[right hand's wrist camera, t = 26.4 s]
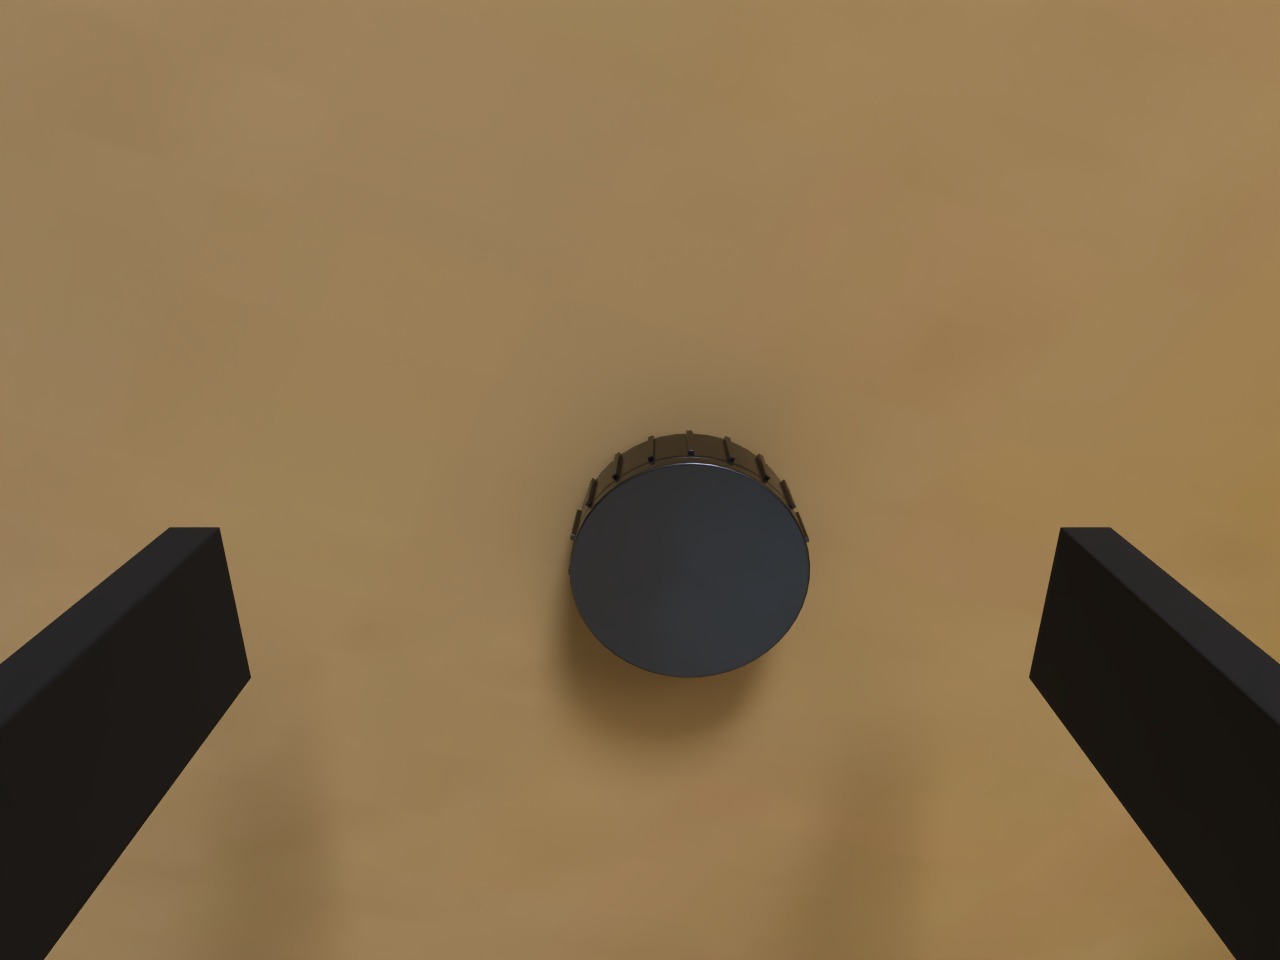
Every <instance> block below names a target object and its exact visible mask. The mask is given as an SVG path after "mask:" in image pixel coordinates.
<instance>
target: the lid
mask: <svg viewBox="0 0 1280 960" xmlns="http://www.w3.org/2000/svg"><path fill="white" fill-rule="evenodd" d="M795 507H796V506H795V503H794V501H793V498H792V495H791V493H790V490H789V488H788V485H787V483H786V482H785V480H783V481H780V479H779V478H778V477H777V476H776V474H775V473H774V472H773V471H772V470H771V468H770V467H769V466H768V465H767V464H765V461H764V458H763V456H762V455H761V454H758V455H757V456H756V455H754V454H753V453H751V452H750V451H749V450H747V449H745V448H743V447H741V446H739V445H737V444H735V443H733V442H731V440H730V438H729V437H726V436H725V438H724V439H721V438H717V437H713V436H708V435H699V434H692V431H687V434H675V435H669V436H663V437H659V438H656V439H654V436H650V437H648V441H646V442H644V443H642V444H639V445H637V446H635V447H633V448H631V449H630V450H628V451H626V452H625V453H623V454H620V453H619V452H618V453H617V454H616V455H615V458H614V461H613V462H611V463H610V464H609V465H608V466H607V467H606V468H605V469H604V470H603V471H602V472H601V474H600V475H599V476H598V478H597V479H596V480H595V479H594V478H592V480H591V481H590V484H589V489H588V493H587V496H586V499H585V501H584V504H583V507H582V510H577V514H576V518H575V522H574V526H573V530H572V534H571V538H570V539H572V540H574V544H573V548H572V553H571V559H570V566H569V570H568V571H569V575H570V581H571V588H572V592H573V597H574V600H575V603H576V605H577V608H578V611H579V613H580V615H581V616H582V618H583V620H584V622H585V624H586V625H587V626H588V628H589V629H590V630H591V632H592V633H593V634H594V636H595V637H596V638H597V639H598V640H599V641H600V642H601V643H602V644H603V645H604V646H605V647H606V648H607V649H609V650H610V651H611V652H613V653H614V654H615V655H616V656H618V657H620V658H621V659H623V660H625V661H626V662H628V663H630V664H632V665H634V666H637V667H639V668H641V669H644V670H647V671H650V672H653V673H657V674H661V675H666V676H673V677H704V676H712V675H717V674H721V673H725V672H729V671H731V670H734V669H737V668H739V667H742V666H744V665H746V664H748V663H750V662H752V661H754V660H756V659H757V658H759V657H760V656H762V655H763V654H764V653H766V652H767V651H769V650H770V649H771V648H772V647H773V646H774V645H775V644H777V643H778V642H779V641H780V640H781V638H782V637H783V636H784V635H785V634H786V633H787V632H788V630H789V629H790V627H791V626H792V625H793V623H794V622H795V620H796V618H797V616H798V614H799V612H800V610H801V608H802V606H803V603H804V600H805V597H806V594H807V590H808V585H809V579H810V560H809V552H808V547H807V544H806V542H809V539H808V535H807V533H806V530H805V528H804V525H803V523H802V520H801V518H800V515H799V513H798V512H795V511H794V508H795Z"/></svg>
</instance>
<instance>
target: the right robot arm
mask: <svg viewBox="0 0 1280 960" xmlns="http://www.w3.org/2000/svg"><path fill="white" fill-rule="evenodd" d="M250 678H251V676H250V671H249V666H248V661H247V657H246V652H245V647H244V642H243V637H242V633H241V628H240V623H239V618H238V614H237V609H236V604H235V599H234V595H233V590H232V585H231V580H230V576H229V571H228V566H227V561H226V556H225V552H224V547H223V542H222V537H221V533H220V528H219V527H170V528H168V529H167V530H166V531H165V532H163V533H162V534H161V535H160V536H158V537H157V538H156V539H155V540H154V541H152V542H151V543H150V544H149V545H147V546H146V547H145V548H144V549H142V550H141V551H140V552H139V553H137V554H136V555H135V556H134V557H132V558H131V559H130V560H129V561H128V562H126V563H125V564H124V565H123V566H121V567H120V568H119V569H118V570H116V571H115V572H114V573H113V574H111V575H110V576H109V577H108V578H106V579H105V580H104V581H103V582H102V583H100V584H99V585H98V586H97V587H95V588H94V589H93V590H92V591H90V592H89V593H88V594H87V595H85V596H84V597H83V598H82V599H80V600H79V601H78V602H77V603H75V604H74V605H73V606H72V607H71V608H69V609H68V610H67V611H66V612H64V613H63V614H62V615H61V616H59V617H58V618H57V619H56V620H54V621H53V622H52V623H51V624H49V625H48V626H47V627H46V628H45V629H43V630H42V631H41V632H40V633H38V634H37V635H36V636H35V637H33V638H32V639H31V640H30V641H28V642H27V643H26V644H25V645H23V646H22V647H21V648H20V649H18V650H17V651H16V652H15V653H14V654H12V655H11V656H10V657H9V658H7V659H6V660H5V661H4V662H2V663H1V664H0V960H44V959H45V957H46V956H47V955H48V953H49V952H50V950H51V949H52V948H53V946H54V945H55V944H56V942H57V941H58V940H59V938H60V937H61V936H62V934H63V933H64V931H65V930H66V929H67V927H68V926H69V925H70V923H71V922H72V921H73V919H74V918H75V916H76V915H77V914H78V912H79V911H80V910H81V908H82V907H83V906H84V904H85V903H86V901H87V900H88V899H89V897H90V896H91V895H92V893H93V892H94V891H95V889H96V888H97V886H98V885H99V884H100V882H101V881H102V880H103V878H104V877H105V876H106V874H107V873H108V872H109V870H110V869H111V867H112V866H113V865H114V863H115V862H116V861H117V859H118V858H119V857H120V855H121V854H122V852H123V851H124V850H125V848H126V847H127V846H128V844H129V843H130V842H131V840H132V839H133V837H134V836H135V835H136V833H137V832H138V831H139V829H140V828H141V827H142V825H143V824H144V823H145V821H146V820H147V818H148V817H149V816H150V814H151V813H152V812H153V810H154V809H155V808H156V806H157V805H158V803H159V802H160V801H161V799H162V798H163V797H164V795H165V794H166V793H167V791H168V790H169V788H170V787H171V786H172V784H173V783H174V782H175V780H176V779H177V778H178V776H179V775H180V773H181V772H182V771H183V769H184V768H185V767H186V765H187V764H188V763H189V761H190V760H191V759H192V757H193V756H194V754H195V753H196V752H197V750H198V749H199V748H200V746H201V745H202V744H203V742H204V741H205V739H206V738H207V737H208V735H209V734H210V733H211V731H212V730H213V729H214V727H215V726H216V724H217V723H218V722H219V720H220V719H221V718H222V716H223V715H224V714H225V712H226V711H227V709H228V708H229V707H230V705H231V704H232V703H233V701H234V700H235V699H236V697H237V696H238V695H239V693H240V692H241V690H242V689H243V688H244V686H245V685H246V684H247V682H248V681H249V680H250ZM1029 678H1030V680H1031V681H1032V682H1033V684H1034V685H1035V686H1036V688H1037V689H1038V690H1039V692H1040V693H1041V695H1042V696H1043V697H1044V699H1045V700H1046V701H1047V703H1048V704H1049V705H1050V707H1051V708H1052V709H1053V711H1054V712H1055V714H1056V715H1057V716H1058V718H1059V719H1060V720H1061V722H1062V723H1063V724H1064V726H1065V727H1066V729H1067V730H1068V731H1069V733H1070V734H1071V735H1072V737H1073V738H1074V739H1075V741H1076V742H1077V744H1078V745H1079V746H1080V748H1081V749H1082V750H1083V752H1084V753H1085V754H1086V756H1087V757H1088V758H1089V760H1090V761H1091V763H1092V764H1093V765H1094V767H1095V768H1096V769H1097V771H1098V772H1099V773H1100V775H1101V776H1102V778H1103V779H1104V780H1105V782H1106V783H1107V784H1108V786H1109V787H1110V788H1111V790H1112V791H1113V793H1114V794H1115V795H1116V797H1117V798H1118V799H1119V801H1120V802H1121V803H1122V805H1123V806H1124V808H1125V809H1126V810H1127V812H1128V813H1129V814H1130V816H1131V817H1132V818H1133V820H1134V821H1135V822H1136V824H1137V825H1138V827H1139V828H1140V829H1141V831H1142V832H1143V833H1144V835H1145V836H1146V837H1147V839H1148V840H1149V842H1150V843H1151V844H1152V846H1153V847H1154V848H1155V850H1156V851H1157V852H1158V854H1159V855H1160V857H1161V858H1162V859H1163V861H1164V862H1165V863H1166V865H1167V866H1168V867H1169V869H1170V870H1171V871H1172V873H1173V874H1174V876H1175V877H1176V878H1177V880H1178V881H1179V882H1180V884H1181V885H1182V886H1183V888H1184V889H1185V891H1186V892H1187V893H1188V895H1189V896H1190V897H1191V899H1192V900H1193V901H1194V903H1195V904H1196V906H1197V907H1198V908H1199V910H1200V911H1201V912H1202V914H1203V915H1204V916H1205V918H1206V919H1207V921H1208V922H1209V923H1210V925H1211V926H1212V927H1213V929H1214V930H1215V931H1216V933H1217V934H1218V935H1219V937H1220V938H1221V940H1222V941H1223V942H1224V944H1225V945H1226V946H1227V948H1228V949H1229V950H1230V952H1231V953H1232V955H1233V956H1234V957H1235V959H1236V960H1280V664H1279V663H1278V662H1276V661H1275V660H1274V659H1273V658H1271V657H1270V656H1269V655H1268V654H1266V653H1265V652H1264V651H1263V650H1262V649H1260V648H1259V647H1258V646H1257V645H1255V644H1254V643H1253V642H1252V641H1250V640H1249V639H1248V638H1247V637H1245V636H1244V635H1243V634H1242V633H1240V632H1239V631H1238V630H1237V629H1236V628H1234V627H1233V626H1232V625H1231V624H1229V623H1228V622H1227V621H1226V620H1224V619H1223V618H1222V617H1221V616H1219V615H1218V614H1217V613H1216V612H1214V611H1213V610H1212V609H1211V608H1209V607H1208V606H1207V605H1206V604H1205V603H1203V602H1202V601H1201V600H1200V599H1198V598H1197V597H1196V596H1195V595H1193V594H1192V593H1191V592H1190V591H1188V590H1187V589H1186V588H1185V587H1183V586H1182V585H1181V584H1180V583H1179V582H1177V581H1176V580H1175V579H1174V578H1172V577H1171V576H1170V575H1169V574H1167V573H1166V572H1165V571H1164V570H1162V569H1161V568H1160V567H1159V566H1157V565H1156V564H1155V563H1154V562H1152V561H1151V560H1150V559H1149V558H1148V557H1146V556H1145V555H1144V554H1143V553H1141V552H1140V551H1139V550H1138V549H1136V548H1135V547H1134V546H1133V545H1131V544H1130V543H1129V542H1128V541H1126V540H1125V539H1124V538H1123V537H1122V536H1120V535H1119V534H1118V533H1117V532H1115V531H1114V530H1113V529H1112V528H1110V527H1061V528H1060V533H1059V538H1058V542H1057V547H1056V552H1055V557H1054V561H1053V566H1052V571H1051V576H1050V580H1049V585H1048V590H1047V595H1046V599H1045V604H1044V609H1043V614H1042V618H1041V623H1040V628H1039V633H1038V638H1037V642H1036V647H1035V652H1034V657H1033V661H1032V666H1031V671H1030V676H1029Z"/></svg>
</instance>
